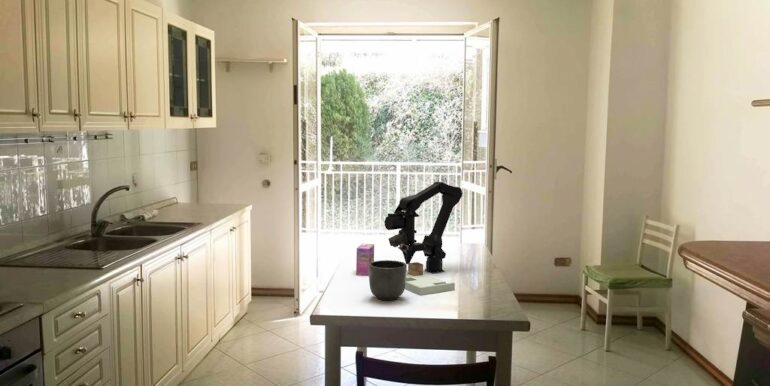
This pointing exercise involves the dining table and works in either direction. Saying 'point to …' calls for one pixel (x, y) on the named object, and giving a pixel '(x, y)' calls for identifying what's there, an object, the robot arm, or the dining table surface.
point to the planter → (387, 279)
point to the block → (415, 269)
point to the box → (364, 258)
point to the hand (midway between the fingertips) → (407, 264)
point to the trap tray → (427, 284)
